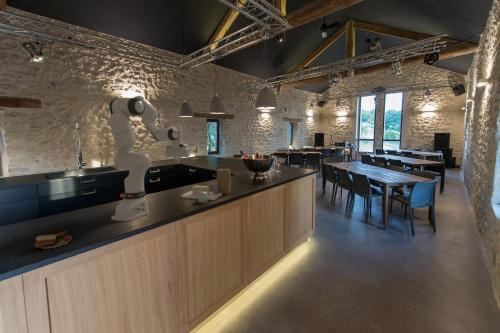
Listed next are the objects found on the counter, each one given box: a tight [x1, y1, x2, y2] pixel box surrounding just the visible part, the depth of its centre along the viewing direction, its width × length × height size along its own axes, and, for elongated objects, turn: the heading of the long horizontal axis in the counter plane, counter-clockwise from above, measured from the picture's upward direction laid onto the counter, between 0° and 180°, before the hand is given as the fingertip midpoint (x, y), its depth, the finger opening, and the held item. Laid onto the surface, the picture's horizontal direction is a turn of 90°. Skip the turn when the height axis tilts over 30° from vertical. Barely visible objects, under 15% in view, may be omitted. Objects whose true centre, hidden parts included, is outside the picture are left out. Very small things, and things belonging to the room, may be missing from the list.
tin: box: [212, 186, 219, 194], centre depth 200 cm, size 4×4×5 cm
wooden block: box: [216, 168, 232, 195], centre depth 207 cm, size 10×10×20 cm
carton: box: [191, 184, 210, 195], centre depth 198 cm, size 6×6×12 cm
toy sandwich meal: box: [33, 230, 72, 250], centre depth 115 cm, size 12×14×5 cm
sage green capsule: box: [197, 191, 208, 204], centre depth 183 cm, size 7×7×7 cm
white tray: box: [180, 190, 223, 201], centre depth 198 cm, size 16×28×2 cm, turn 74°
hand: (177, 162), depth 194 cm, fingers closed
